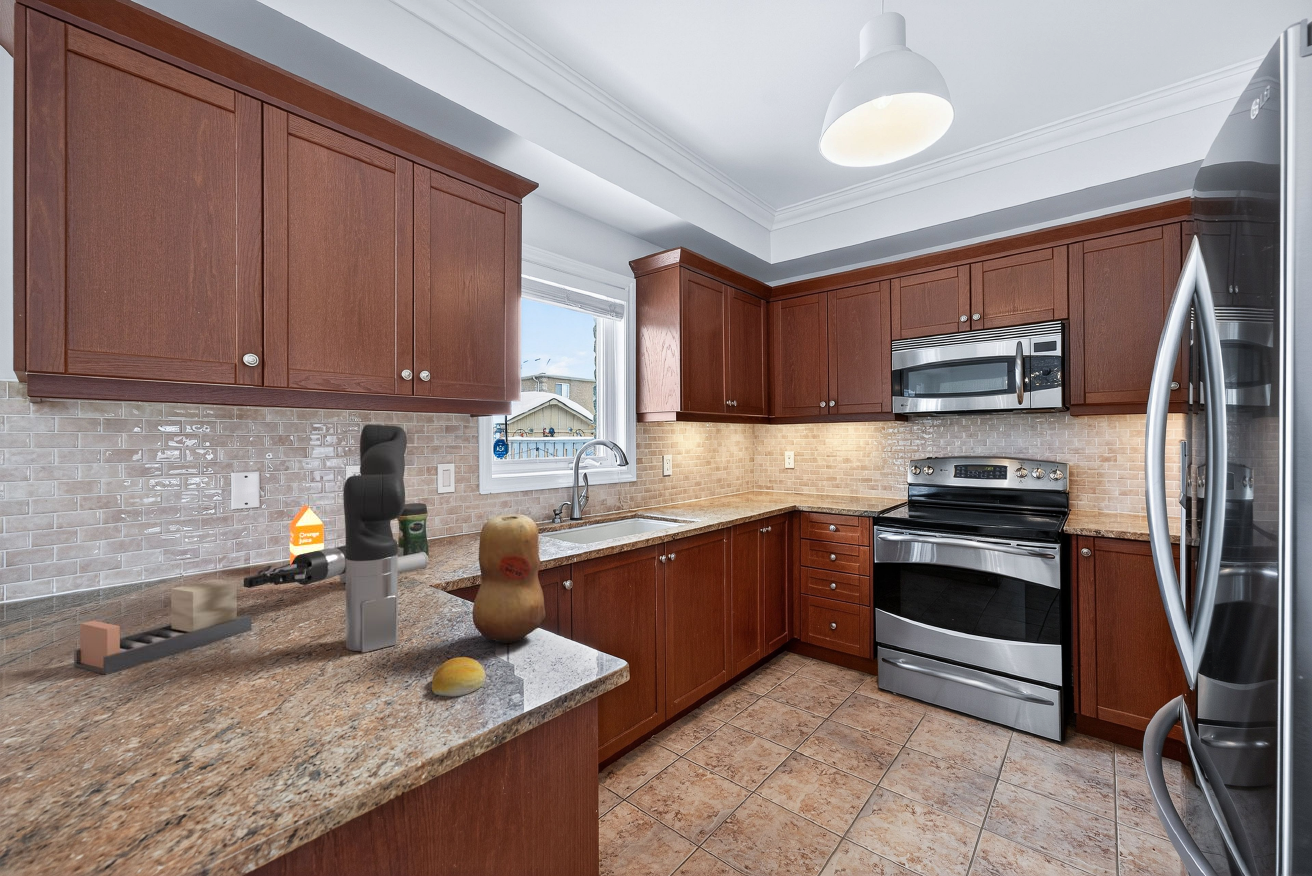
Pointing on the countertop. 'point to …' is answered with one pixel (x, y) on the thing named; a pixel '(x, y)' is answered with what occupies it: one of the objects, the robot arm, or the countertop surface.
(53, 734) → the countertop surface
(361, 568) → the robot arm
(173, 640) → the roller bed
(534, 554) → the butternut squash
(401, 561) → the tube
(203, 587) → the tan wooden block
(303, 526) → the orange juice
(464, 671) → the bread roll
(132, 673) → the countertop surface
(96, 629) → the end stop
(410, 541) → the coffee jar
